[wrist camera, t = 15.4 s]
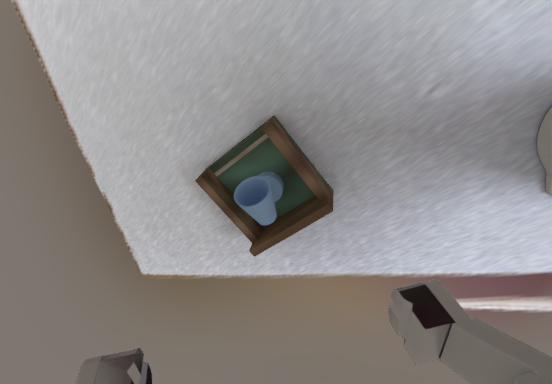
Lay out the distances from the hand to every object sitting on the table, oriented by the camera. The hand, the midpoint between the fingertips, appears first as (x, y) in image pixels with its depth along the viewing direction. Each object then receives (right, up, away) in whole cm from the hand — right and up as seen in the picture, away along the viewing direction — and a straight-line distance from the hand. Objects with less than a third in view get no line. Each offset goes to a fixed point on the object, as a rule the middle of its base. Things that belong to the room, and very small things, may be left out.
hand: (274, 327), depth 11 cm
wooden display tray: (-1, +6, +39) cm, 40 cm away
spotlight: (-1, +6, +39) cm, 39 cm away
